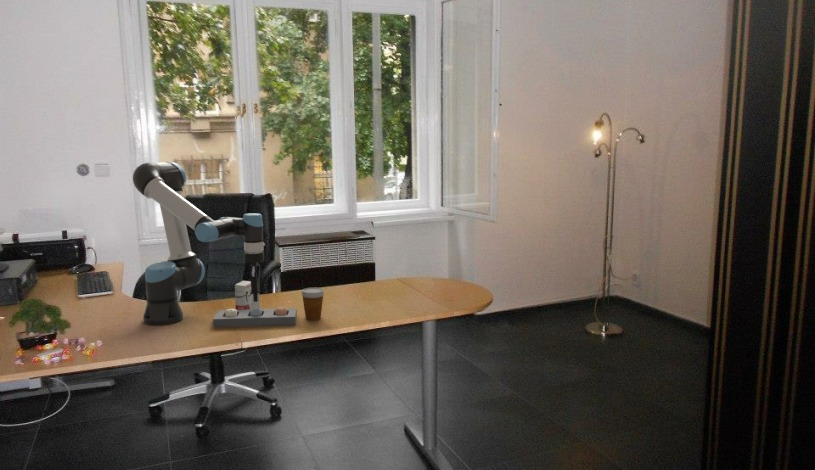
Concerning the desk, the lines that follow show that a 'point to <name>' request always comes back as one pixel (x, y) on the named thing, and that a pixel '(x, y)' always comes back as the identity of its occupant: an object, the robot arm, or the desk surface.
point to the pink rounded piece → (281, 311)
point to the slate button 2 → (256, 312)
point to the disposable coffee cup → (312, 302)
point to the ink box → (243, 295)
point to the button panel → (255, 318)
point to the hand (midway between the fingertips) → (256, 308)
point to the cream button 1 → (230, 312)
